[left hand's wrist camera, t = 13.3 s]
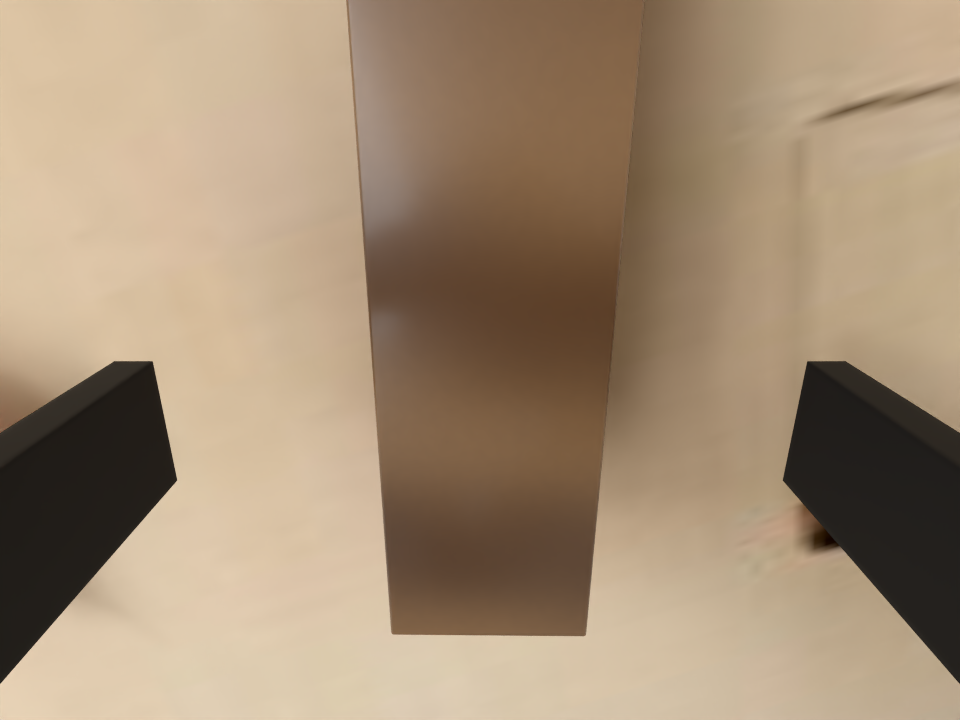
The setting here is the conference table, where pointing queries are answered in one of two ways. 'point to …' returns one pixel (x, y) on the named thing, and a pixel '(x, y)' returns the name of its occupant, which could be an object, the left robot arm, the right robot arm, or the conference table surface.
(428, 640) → the conference table surface
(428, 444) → the bar
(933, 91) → the conference table surface
